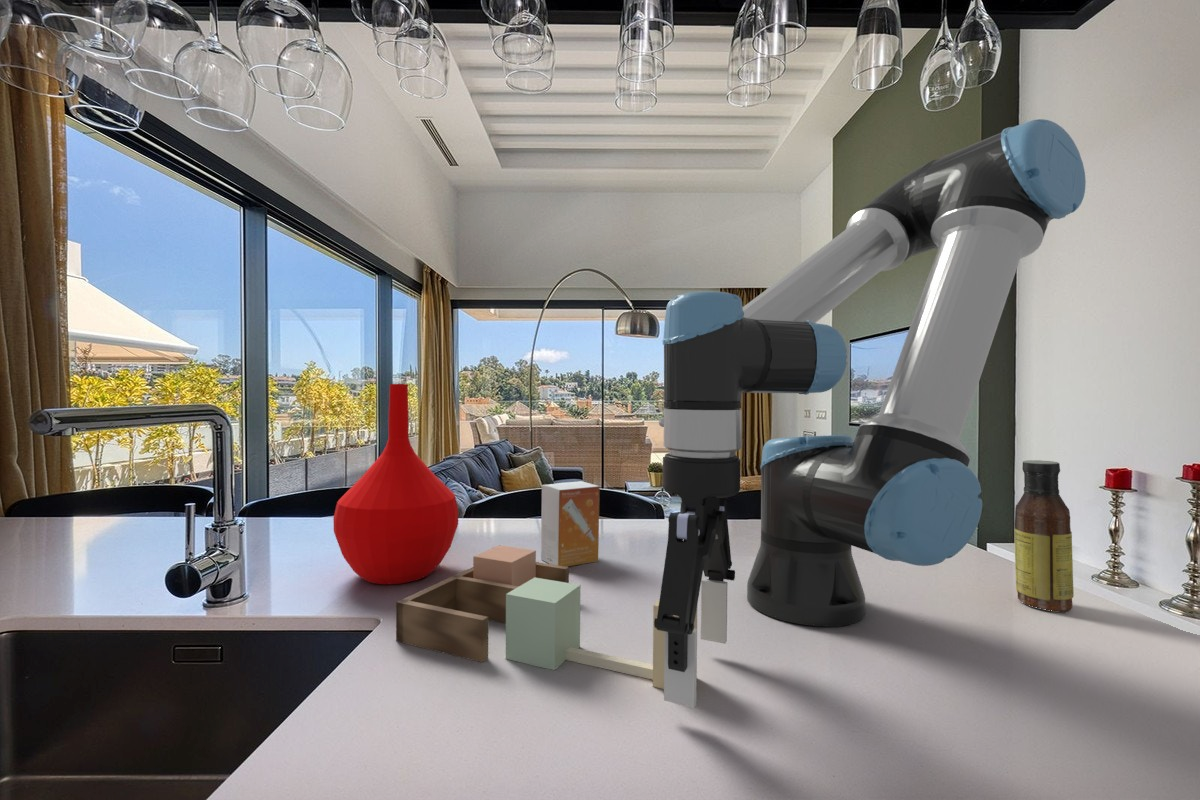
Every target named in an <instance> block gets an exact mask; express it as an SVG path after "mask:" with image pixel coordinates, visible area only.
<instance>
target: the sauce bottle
mask: <svg viewBox="0 0 1200 800" xmlns="http://www.w3.org/2000/svg"><path fill="white" fill-rule="evenodd" d="M1022 471H1023V475H1024V479H1023V481H1024V487H1023V494H1022V496H1021V498H1020V499H1019V501H1018V502H1017V504H1016V505H1015V510H1014V513H1015V514H1014V562H1015V565H1014V566H1015V589H1016V593H1017V599H1018V601H1020V603H1022V602H1023V603H1022V604H1024V603H1025V604H1024V605H1026V604H1027V605H1026V606H1028V605H1030V606H1033V607H1037V608H1041V609H1040V610H1042V609H1046V610H1050V611H1049V612H1051V610H1052V611H1059V612H1058V613H1065V612H1069V611H1071V610H1072V608H1073V598H1074V596H1075V595H1074V574H1073V573H1074V572H1073V571H1074V567H1073V566H1074V564H1073V561H1074V560H1073V532H1072V530H1071V513H1070V508H1068V506H1067V505H1066V503H1065V502H1064V500H1063V498H1062V496H1061V495H1060V489H1059V474H1060V473H1061V468H1060V462H1058V461H1053V460H1041V459H1038V460H1037V459H1031V460H1030V459H1029V460H1023V461H1022ZM1046 610H1045V611H1046ZM1063 611H1065V612H1063Z"/></svg>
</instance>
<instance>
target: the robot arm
mask: <svg viewBox="0 0 1200 800" xmlns="http://www.w3.org/2000/svg"><path fill="white" fill-rule="evenodd" d="M1086 183H1087V182H1086V172H1085V167H1084V163H1083V160H1082V157H1081V154H1080V151H1079V148H1078V147H1077V145H1076V143H1075V141H1074V140H1073V138H1072V137H1071V136H1070V134H1069V133H1068V132H1067V131H1066V130H1065V129H1064V127H1063V126H1061V125H1059V124H1057V123H1056V122H1055V121H1051V120H1049V119H1044V118H1043V119H1042V118H1040V119H1033V120H1029V121H1026V122H1024V123H1022V124H1021V123H1020V124H1018V125H1015V126H1009V127H1006V128H1004V129H1002V131H1001V132H999V133H997V134H994V135H992V136H989V137H987V138H985V139H982V140H980V141H978V142H975V143H973V144H970V145H967V146H966V147H963V148H960V149H958V150H956V151H953V152H951V153H948V154H946V155H943V156H941V157H939V158H937V159H934V160H930V161H928V162H926V163H924V164H923V165H920V166H919V167H917V168H914V169H913V170H912V171H910V172H909V173H907V174H905V175H904V176H903V177H900V178H899V180H897V181H896V182H895V183H893V184H892V185H891V186H889V187H888V188H887V189H885V190H884V191H882V193H880V194H879V195H877V196H876V197H875V198H874V199H872V200H871V201H870V202H868V203H867V204H865V206H864V207H862V208H861V209H859V210H858V211H856V213H854V214H853V215H852V216H851V217H850V218H849V220H848V222H847V225H846V228H845V230H843V231H842V232H841V233H840V234H837V235H836V236H835V237H834V238H833V239H831V240H830V241H829V242H828V243H826V244H824V246H822V247H821V248H819V250H817V251H815V252H814V253H813V254H811V255H810V256H809V257H807V258H806V259H805V260H804V261H802V262H801V263H800V264H798V265H797V266H795V267H794V268H793V269H792V270H789V272H787V273H786V274H785V275H784V276H782V277H781V278H779V279H778V280H776V282H775V283H773V284H772V285H770V286H769V287H768V288H767V289H765V290H764V291H763V292H761V293H760V294H759V295H757V296H755V298H753V299H752V300H750V301H749V302H748V303H747V304H745V305H743V301H742V299H741V297H740V296H739V295H738V294H734V293H730V292H727V291H695V292H694V291H692V292H686V293H682V294H678V295H676V296H673V297H672V299H670V300H669V302H668V303H667V305H666V309H665V317H664V327H663V329H664V330H663V339H662V345H663V400H664V401H663V417H660V418H659V420H658V425H659V426H660V428H663V447H664V448H665V449H667V450H668V451H669V452H668V453H665V454H664V456H663V457H662V489H663V490H664V491H665V492H666V493H669V494H670V495H673V496H674V495H677V496H679V498H680V499H681V503H680V511H678V512H670V514H669V516H668V520H667V521H668V529H667V544H666V550H665V551H666V552H665V558H664V565H663V567H664V568H663V572H662V582H661V585H660V586H661V587H660V594H659V599H660V600H659V599H658V600H659V608H658V615H657V619H656V618H655V620H654V626H655V628H657V630H660V631H665V653H664V689H663V701H665V702H669V703H673V704H677V705H681V706H685V707H686V706H687V707H690V708H695V706H696V704H697V677H698V676H697V675H698V674H697V673H698V671H697V669H698V668H697V667H698V666H697V665H698V661H697V660H698V657H697V656H698V628H697V629H694V621H695V615H696V609H697V610H698V604H699V603H698V602H699V598H700V599H701V600H700V640H703V641H710V642H715V643H719V644H724V645H725V644H727V641H728V640H727V639H728V584H729V583H728V581H732V582H734V581H735V579H736V578H735V577H736V570H735V569H731V567H732V566H733V561H732V556H731V554H732V553H731V545H730V544H731V543H730V535H729V534H730V533H729V524H728V523H729V522H728V510H727V509H728V508H727V507H728V506H727V502H728V501H727V500H728V498H730V497H733V496H736V495H737V494H738V493H739V492H740V490H741V459H740V458H739V456H738V455H736V452H737V451H740V449H742V425H743V424H742V414H743V413H742V399H743V397H742V396H743V395H742V394H743V393H747V394H749V393H752V394H759V393H760V394H799V395H805V396H807V395H809V394H815V393H817V394H818V393H819V394H820V393H825V392H829V391H830V390H832V389H833V388H834V387H836V385H838V384H839V383H840V381H841V380H842V378H843V376H844V375H845V374H844V373H845V371H846V369H847V363H848V362H847V359H848V356H847V353H848V351H847V345H846V342H845V340H844V338H843V336H842V335H841V333H840V332H839V331H838V330H837V328H834V326H831V325H828V324H824V323H817V322H818V321H820V320H821V319H822V318H824V316H826V315H827V314H829V313H830V312H831V311H833V309H835V308H836V307H838V305H840V304H841V303H842V302H844V301H845V300H846V299H847V298H849V297H850V296H851V295H852V294H854V293H855V292H856V291H857V290H859V289H860V288H861V287H862V286H864V285H865V284H866V283H867V282H869V281H870V280H871V279H872V278H874V277H875V276H876V275H878V273H880V272H889V271H891V270H894V269H896V268H897V267H900V265H901V264H903V263H905V261H907V260H909V259H911V258H912V257H914V256H917V255H920V254H923V253H925V252H929V251H932V250H936V249H937V251H936V253H935V256H934V258H933V259H934V260H933V261H932V265H931V268H930V270H929V274H928V276H927V279H926V282H925V284H924V287H923V289H922V293H921V296H920V299H919V301H918V304H917V306H916V310H915V312H914V314H913V318H912V321H911V323H910V326H909V329H908V332H907V334H906V337H905V339H904V343H903V345H902V347H901V348H902V349H901V351H900V354H899V357H898V359H897V362H896V366H895V368H894V371H893V373H892V376H891V379H890V382H889V384H888V387H887V389H886V393H885V395H884V399H883V402H882V404H881V407H880V410H879V413H878V415H877V416H876V417H874V418H872V419H869V420H867V421H864V422H863V423H861V424H860V425H859V427H858V429H857V433H856V435H855V438H854V440H853V438H852V437H851V436H850V435H846V434H845V435H843V434H842V435H841V434H839V435H835V434H832V435H831V434H830V435H811V436H791V437H778V438H771V439H769V440H767V441H766V442H765V443H764V444H763V448H762V454H761V463H760V466H759V467H760V468H759V469H760V543H759V544H760V546H759V548H758V551H757V554H756V557H755V560H754V562H753V565H752V568H751V571H750V574H749V577H748V580H747V586H746V588H747V589H746V592H747V593H746V599H747V602H748V603H749V605H750V606H751V607H753V608H754V609H755V610H756V611H758V612H760V613H762V614H764V615H767V616H769V617H772V618H774V619H777V620H781V621H785V622H788V623H792V624H798V625H804V626H813V627H815V626H816V627H842V626H847V625H848V626H849V625H852V624H855V623H858V622H860V621H861V620H863V619H864V618H865V615H866V594H865V591H864V589H863V585H862V583H861V579H860V575H859V573H858V569H857V567H856V564H855V560H854V557H853V553H852V547H855V548H859V549H861V550H863V551H867V552H870V553H872V554H876V555H878V556H879V557H881V558H883V559H885V560H888V561H893V562H901V563H906V564H909V565H913V566H919V567H920V566H921V567H925V566H926V567H929V566H934V565H939V564H941V563H943V562H944V561H945V560H947V559H951V558H953V557H954V556H955V555H957V554H958V553H959V552H961V551H962V550H963V549H964V548H965V547H966V545H967V544H968V543H969V542H970V540H971V539H972V537H973V535H974V533H975V531H976V530H977V528H978V525H979V522H980V519H981V516H982V511H983V499H981V497H979V495H980V494H981V493H982V488H981V484H980V481H979V479H978V477H977V476H976V474H975V473H974V471H973V470H972V469H971V468H970V467H969V464H970V462H971V461H970V460H971V455H970V453H969V452H968V450H967V449H966V447H965V446H964V445H963V443H962V442H961V437H962V433H963V430H964V427H965V424H966V421H967V418H968V415H969V413H970V411H971V407H972V404H973V400H974V398H975V395H976V392H977V389H978V386H979V382H980V380H981V377H982V373H983V371H984V367H985V365H986V362H987V358H988V356H989V352H990V349H991V347H992V344H993V341H994V337H995V335H996V331H997V330H998V327H999V324H1000V320H1001V317H1002V314H1003V311H1004V308H1005V305H1006V303H1007V300H1008V299H1007V298H1008V296H1009V294H1010V291H1011V287H1012V285H1013V281H1014V278H1015V275H1016V272H1017V269H1018V266H1019V263H1020V260H1021V259H1023V258H1026V257H1028V256H1030V255H1032V254H1033V253H1035V252H1036V251H1037V250H1038V249H1039V248H1040V246H1041V245H1042V243H1043V239H1044V236H1045V233H1046V230H1047V229H1048V225H1049V223H1050V222H1051V221H1052V220H1054V219H1055V220H1060V219H1064V218H1065V217H1066V216H1069V215H1070V214H1072V213H1074V212H1076V210H1078V209H1079V208H1080V206H1081V205H1082V203H1083V200H1084V197H1085V193H1086ZM703 575H704V577H703ZM705 577H706V578H705ZM725 580H726V581H725ZM700 591H701V592H700ZM699 596H701V597H699ZM673 615H676V616H679V617H675V616H673Z"/></svg>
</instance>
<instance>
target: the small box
mask: <svg viewBox="0 0 1200 800" xmlns="http://www.w3.org/2000/svg"><path fill="white" fill-rule="evenodd" d="M540 518H541V520H540V521H541V523H540V525H541V527H540V528H541V531H540V536H541V537H540V540H541V541H540V559H541V560H542V561H544V562H545V563H546V564H552V565H558V566H565V567H572V566H577V565H582V564H583V565H584V564H590V563H597V562H599V544H600V543H599V542H600V541H599V540H600V537H599V535H600V485H598V484H593V483H590V482H585V481H583V480H578V481H569V482H567V481H566V482H558V483H557V482H556V483H550V484H549V483H548V484H542V485H541V517H540Z"/></svg>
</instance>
